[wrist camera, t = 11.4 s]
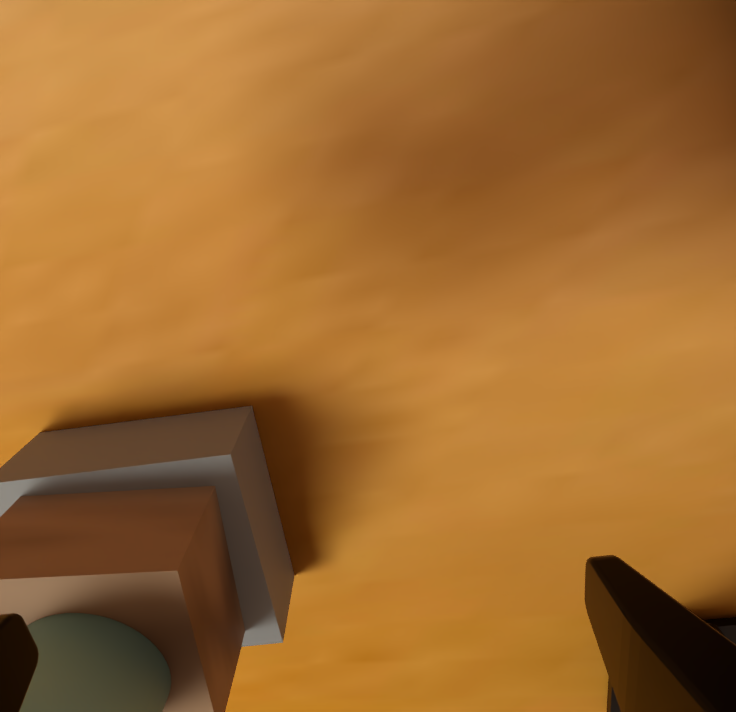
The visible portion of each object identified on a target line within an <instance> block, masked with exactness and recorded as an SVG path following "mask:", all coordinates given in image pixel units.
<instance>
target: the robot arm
mask: <svg viewBox="0 0 736 712" xmlns="http://www.w3.org/2000/svg"><path fill="white" fill-rule="evenodd" d="M585 604H586V609H587V613H588V616H589V619H590V622H591V625H592V628H593V631H594V634H595V637H596V640H597V643H598V646H599V649H600V652H601V655H602V658H603V661H604V663H605V666H606V669H607V672H608V675H609V681H608V699H607V712H736V618H725V619H714V620H702V619H700V618H699V617H698V616H696V615H695V614H694V613H692V612H691V611H690V610H688V609H687V608H686V607H684V606H683V605H682V604H680V603H679V602H678V601H676V600H675V599H674V598H672V597H671V596H670V595H668V594H667V593H666V592H664V591H663V590H662V589H660V588H659V587H657V586H656V585H655V584H653V583H652V582H651V581H649V580H648V579H647V578H645V577H644V576H643V575H641V574H640V573H639V572H637V571H636V570H635V569H633V568H632V567H631V566H629V565H628V564H627V563H625V562H624V561H623V560H621V559H620V558H618V557H616V556H613V555H607V556H597V557H590V558H589V559H588V560H587V562H586V572H585ZM38 657H39V652H38V647H37V645H36V643H35V641H34V639H33V637H32V635H31V633H30V631H29V629H28V627H27V625H26V623H25V621H24V619H23V618H22V616H20V615H19V614H16V613H10V614H0V712H19V711H20V709H21V706H22V703H23V701H24V698H25V696H26V693H27V690H28V688H29V685H30V682H31V680H32V677H33V675H34V672H35V669H36V667H37V663H38Z"/></svg>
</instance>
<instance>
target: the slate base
mask: <svg viewBox="0 0 736 712" xmlns="http://www.w3.org/2000/svg"><path fill="white" fill-rule="evenodd" d="M203 486H215V488H216V493H217V498H218V502H219V507H220V512H221V517H222V522H223V526H224V531H225V536H226V541H227V546H228V551H229V555H230V560H231V565H232V570H233V575H234V579H235V584H236V589H237V594H238V599H239V604H240V608H241V613H242V618H243V623H244V628H245V634H244V638H243V642H242V646H241V647H243V646H253V645H263V644H273V643H282V642H283V639H284V633H285V627H286V621H287V616H288V610H289V604H290V598H291V592H292V586H293V581H294V572H293V568H292V564H291V560H290V556H289V552H288V548H287V544H286V540H285V536H284V532H283V528H282V524H281V520H280V516H279V512H278V508H277V504H276V500H275V496H274V492H273V488H272V484H271V480H270V476H269V472H268V468H267V464H266V460H265V456H264V452H263V448H262V444H261V440H260V436H259V432H258V428H257V424H256V420H255V416H254V412H253V408H252V406H245V407H237V408H230V409H222V410H214V411H206V412H198V413H190V414H182V415H174V416H166V417H159V418H151V419H143V420H135V421H127V422H119V423H111V424H103V425H95V426H88V427H80V428H72V429H64V430H56V431H48V432H40V433H39V434H38V435H37V436H36V437H34V438H33V439H32V440H31V441H30V442H29V443H28V444H27V445H25V446H24V447H23V448H22V449H21V450H20V451H19V452H18V453H17V454H15V455H14V456H13V457H12V458H11V459H10V460H9V461H8V462H6V463H5V464H4V465H3V466H2V467H1V468H0V517H1V516H2V515H3V514H4V513H5V512H6V511H7V510H8V509H9V508H10V507H11V506H12V505H13V504H14V503H15V501H16V500H17V499H18V498H19V497H20V496H37V495H55V494H74V493H92V492H111V491H129V490H147V489H166V488H184V487H203Z"/></svg>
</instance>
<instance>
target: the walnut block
mask: <svg viewBox="0 0 736 712" xmlns="http://www.w3.org/2000/svg"><path fill="white" fill-rule="evenodd" d="M10 613H16V614H19V615H20V616H22V618H23V619H24V621H25V623H26V625H27V626H28V625H29V624H31V623H33V622H34V621H36V620H39V619H41V618H44V617H47V616H51V615H56V614H63V613H84V614H92V615H98V616H102V617H106V618H110V619H113V620H115V621H118V622H121V623H123V624H125V625H127V626H129V627H131V628H133V629H134V630H136V631H138V632H139V633H141V634H142V635H143V636H145V637H146V638H147V639H149V640H150V641H151V642H152V643H153V644H154V645H155V646H156V647H157V649H158V650H159V651H160V652H161V654H162V655H163V657H164V658H165V660H166V662H167V665H168V667H169V670H170V674H171V688H170V692H169V695H168V698H167V701H166V703H165V706H164V709H163V711H162V712H225V709H226V705H227V701H228V697H229V693H230V689H231V686H232V682H233V678H234V674H235V670H236V666H237V662H238V658H239V654H240V650H241V646H242V642H243V638H244V634H245V628H244V623H243V618H242V613H241V608H240V604H239V599H238V594H237V589H236V584H235V579H234V575H233V570H232V565H231V560H230V555H229V551H228V546H227V541H226V536H225V531H224V526H223V522H222V517H221V512H220V507H219V502H218V498H217V493H216V488H215V486H203V487H184V488H166V489H147V490H129V491H111V492H92V493H74V494H55V495H37V496H20V497H19V498H18V499H17V500H16V501H15V503H14V504H13V505H12V506H11V507H10V508H9V509H8V510H7V511H6V512H5V513H4V514H3V515H2V516H1V517H0V614H10Z"/></svg>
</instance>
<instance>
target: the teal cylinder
mask: <svg viewBox="0 0 736 712" xmlns="http://www.w3.org/2000/svg"><path fill="white" fill-rule="evenodd" d="M27 627H28V629H29V631H30V633H31V635H32V637H33V639H34V641H35V643H36V645H37V647H38V652H39V657H38V663H37V667H36V669H35V672H34V675H33V677H32V680H31V682H30V685H29V688H28V690H27V693H26V696H25V698H24V701H23V703H22V706H21V709H20V711H19V712H162V711H163V709H164V706H165V703H166V701H167V698H168V695H169V692H170V688H171V674H170V670H169V667H168V665H167V662H166V660H165V658H164V657H163V655H162V654H161V652H160V651H159V650H158V649H157V647H156V646H155V645H154V644H153V643H152V642H151V641H150V640H149V639H147V638H146V637H145V636H143V635H142V634H141V633H139V632H138V631H136V630H134V629H133V628H131V627H129V626H127V625H125V624H123V623H121V622H118V621H115V620H113V619H110V618H106V617H102V616H98V615H92V614H84V613H63V614H56V615H51V616H47V617H44V618H41V619H39V620H36V621H34V622H33V623H31V624H29V625H28V626H27Z"/></svg>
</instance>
